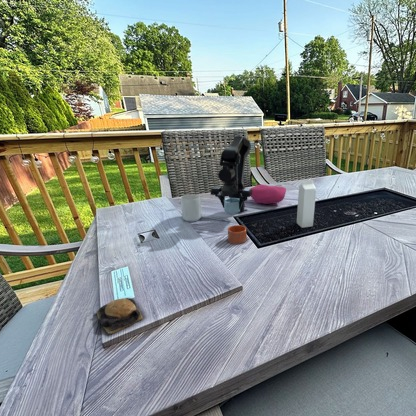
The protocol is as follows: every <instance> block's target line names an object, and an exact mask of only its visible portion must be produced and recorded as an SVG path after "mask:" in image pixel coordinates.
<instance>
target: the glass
mask: <svg viewBox="0 0 416 416" xmlns="http://www.w3.org/2000/svg"><path fill="white" fill-rule="evenodd" d="M239 204H240V200H239V199H237V198H229V197H228V198H225V200H224V208H223V211H224V213H225V214H230V215H233V214H239V213H238V212H240V209H239Z"/></svg>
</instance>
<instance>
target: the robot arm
mask: <svg viewBox="0 0 416 416" xmlns="http://www.w3.org/2000/svg"><path fill="white" fill-rule="evenodd" d="M250 150H252V144H251V141H250V140H249V139H247V138H246V137H245V136H243V135H234V136H233V140H232V142H231V143H230V145H229V146H227V147H225V148H224V149H223V150H222V151H221V154H220V160H219V166H220V167H222V168H221V169H220V170H219V171H218V174H217V177H218V179H219V180H220V181H221V182H223V185H222V186H217V185H214V186H213V187H212V188H211V189H210V195H211V196H214V197H217V199H218V200H219V201H220V203H221V206H222V208H223V209H224V200H225V199H226V197H228V198H237V199H239V200H240V204H239V209H240V212H238V213H237V214H241V213H243V212H245V211H247V208H246V207H245V202H246V201H248V198H251V195H252V189H251V188H252V187H251V188H249V187H245V185H244V176H245V175H244V174H245V167H246V159H247V157H248V156H249V155H250Z"/></svg>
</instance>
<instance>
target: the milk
mask: <svg viewBox="0 0 416 416" xmlns="http://www.w3.org/2000/svg"><path fill="white" fill-rule="evenodd" d="M316 194H317V187H316V185H315V181H314V180H313V179H312V180H311V179H309V180H307V179H306V180H302V181H301V184H300V185H299V186H298V194H297V195H298V196H297V208H296V209H297V211H296V224H297V225H298V226H299V227H300V228H301V229H303V228H310V227H314V218H315V209H316V208H315V207H316Z"/></svg>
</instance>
